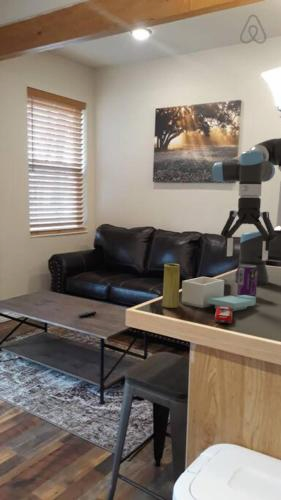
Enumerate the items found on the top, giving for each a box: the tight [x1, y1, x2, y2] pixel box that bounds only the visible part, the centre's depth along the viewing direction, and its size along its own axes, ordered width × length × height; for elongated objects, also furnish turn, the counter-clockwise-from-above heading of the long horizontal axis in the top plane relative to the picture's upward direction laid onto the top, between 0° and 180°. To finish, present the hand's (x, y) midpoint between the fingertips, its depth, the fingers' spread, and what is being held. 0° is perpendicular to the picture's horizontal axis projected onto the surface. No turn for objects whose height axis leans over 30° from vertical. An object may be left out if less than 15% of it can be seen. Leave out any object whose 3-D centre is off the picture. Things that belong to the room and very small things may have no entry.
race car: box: [214, 307, 234, 324], centre depth 125 cm, size 13×5×4 cm, turn 165°
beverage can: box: [236, 264, 258, 297], centre depth 156 cm, size 7×7×12 cm
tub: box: [181, 276, 225, 309], centre depth 144 cm, size 13×9×8 cm
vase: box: [161, 263, 181, 309], centre depth 139 cm, size 6×6×14 cm
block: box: [208, 295, 257, 312], centre depth 138 cm, size 20×10×3 cm, turn 137°
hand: (246, 258), depth 143 cm, fingers open, 13 cm apart
